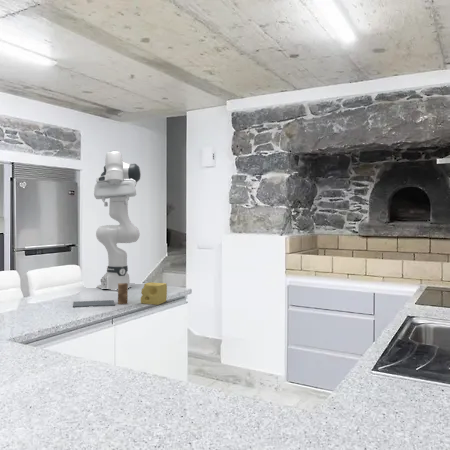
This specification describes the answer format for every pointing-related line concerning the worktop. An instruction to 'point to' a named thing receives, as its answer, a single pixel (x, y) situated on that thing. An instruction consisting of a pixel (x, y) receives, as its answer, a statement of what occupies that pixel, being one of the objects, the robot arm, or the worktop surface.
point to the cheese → (154, 293)
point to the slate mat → (93, 303)
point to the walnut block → (122, 293)
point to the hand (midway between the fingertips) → (115, 205)
